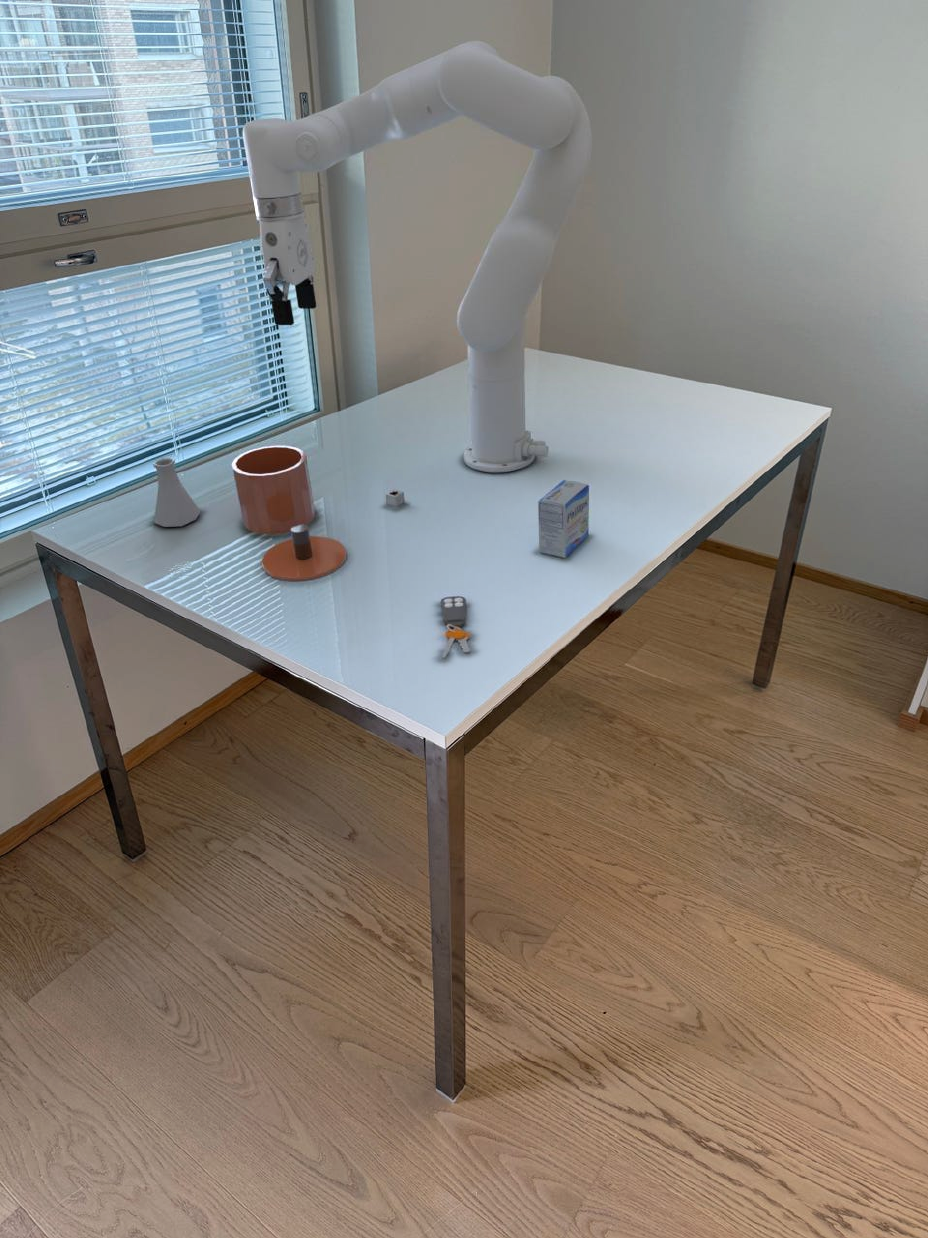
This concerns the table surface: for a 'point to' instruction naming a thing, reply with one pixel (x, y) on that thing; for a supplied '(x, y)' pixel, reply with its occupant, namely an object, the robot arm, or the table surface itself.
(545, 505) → the medicine box
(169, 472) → the flask
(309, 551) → the lid
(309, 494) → the canister
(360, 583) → the table surface
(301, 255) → the robot arm
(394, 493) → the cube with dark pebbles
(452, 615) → the key chain
